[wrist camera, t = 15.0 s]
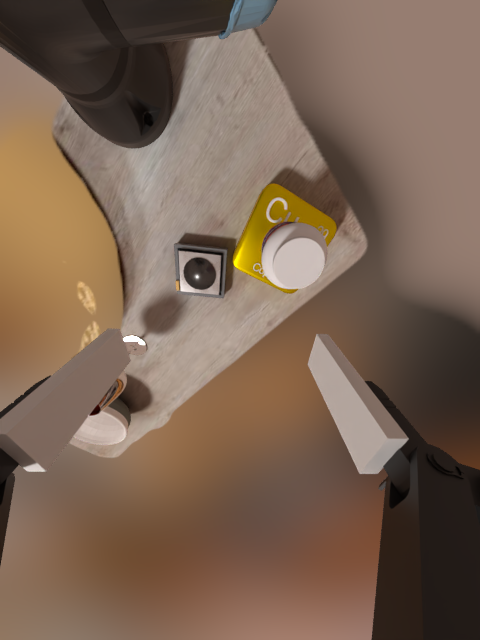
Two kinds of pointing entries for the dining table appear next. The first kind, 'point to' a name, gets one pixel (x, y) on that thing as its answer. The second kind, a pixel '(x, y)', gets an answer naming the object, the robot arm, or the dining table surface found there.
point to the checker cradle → (203, 249)
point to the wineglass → (135, 348)
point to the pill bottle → (293, 255)
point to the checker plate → (200, 271)
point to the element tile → (266, 214)
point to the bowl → (106, 425)
